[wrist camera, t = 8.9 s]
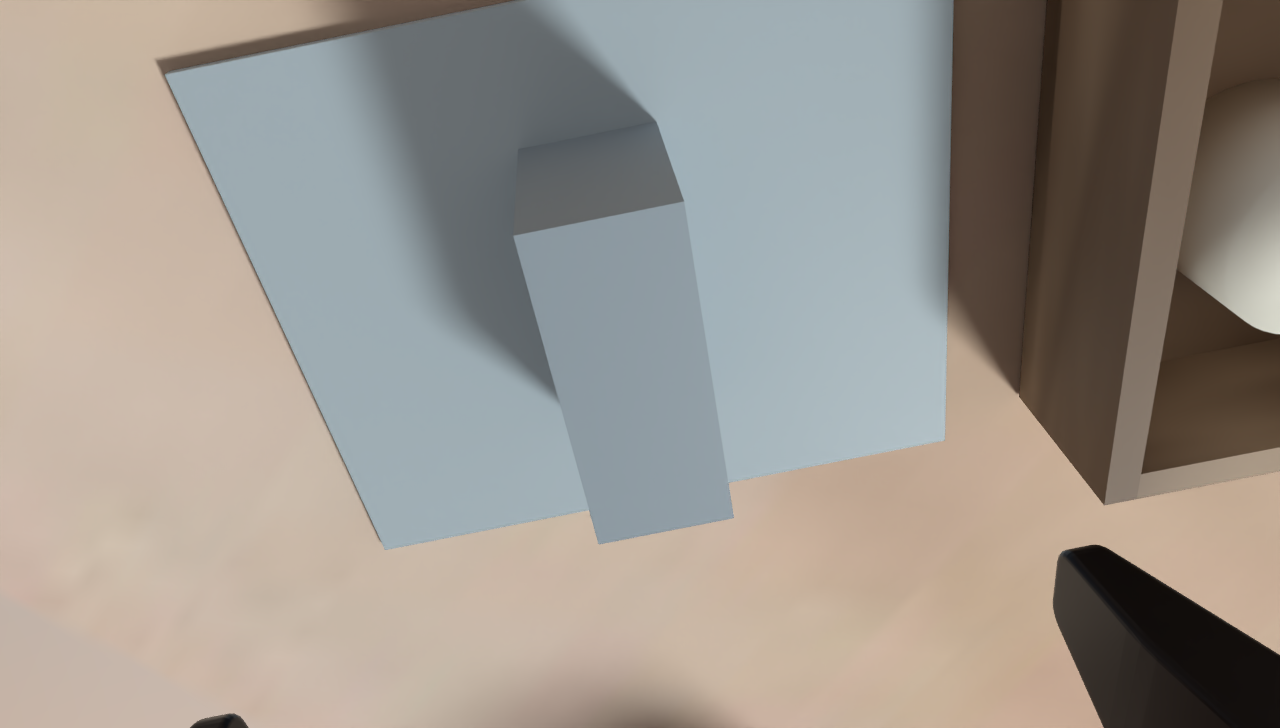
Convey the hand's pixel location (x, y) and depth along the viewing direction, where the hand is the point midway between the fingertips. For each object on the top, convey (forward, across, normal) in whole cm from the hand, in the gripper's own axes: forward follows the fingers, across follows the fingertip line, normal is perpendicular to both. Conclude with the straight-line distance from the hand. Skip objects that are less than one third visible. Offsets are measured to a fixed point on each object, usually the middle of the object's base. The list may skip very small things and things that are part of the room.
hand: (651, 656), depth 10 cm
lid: (+9, 0, 0) cm, 9 cm away
